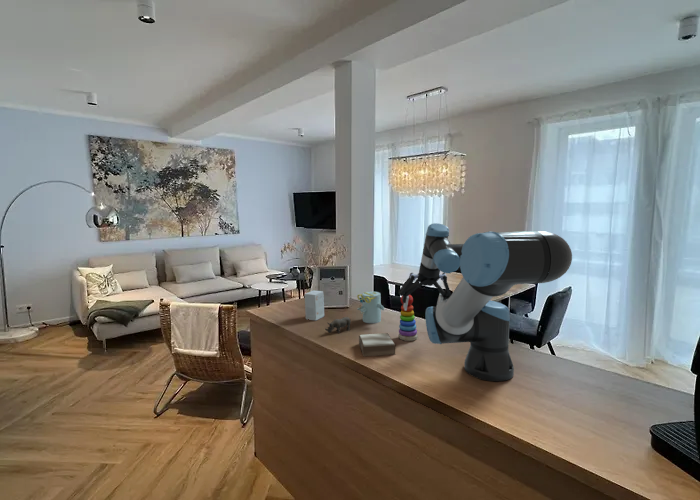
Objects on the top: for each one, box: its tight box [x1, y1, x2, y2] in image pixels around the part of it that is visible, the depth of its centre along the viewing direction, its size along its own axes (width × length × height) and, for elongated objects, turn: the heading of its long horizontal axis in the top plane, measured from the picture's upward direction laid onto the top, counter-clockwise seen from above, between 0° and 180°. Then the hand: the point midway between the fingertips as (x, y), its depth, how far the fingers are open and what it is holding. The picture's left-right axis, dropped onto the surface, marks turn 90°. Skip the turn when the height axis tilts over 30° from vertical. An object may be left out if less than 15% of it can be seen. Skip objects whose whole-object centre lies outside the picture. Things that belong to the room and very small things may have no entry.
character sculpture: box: [356, 291, 385, 324], centre depth 171 cm, size 20×12×13 cm, turn 34°
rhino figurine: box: [324, 316, 351, 334], centre depth 158 cm, size 4×14×6 cm, turn 126°
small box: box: [304, 289, 325, 321], centre depth 178 cm, size 8×6×13 cm
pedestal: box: [358, 332, 396, 357], centre depth 138 cm, size 12×12×4 cm
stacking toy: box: [398, 294, 419, 342], centre depth 147 cm, size 8×8×19 cm
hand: (421, 308), depth 142 cm, fingers open, 13 cm apart
